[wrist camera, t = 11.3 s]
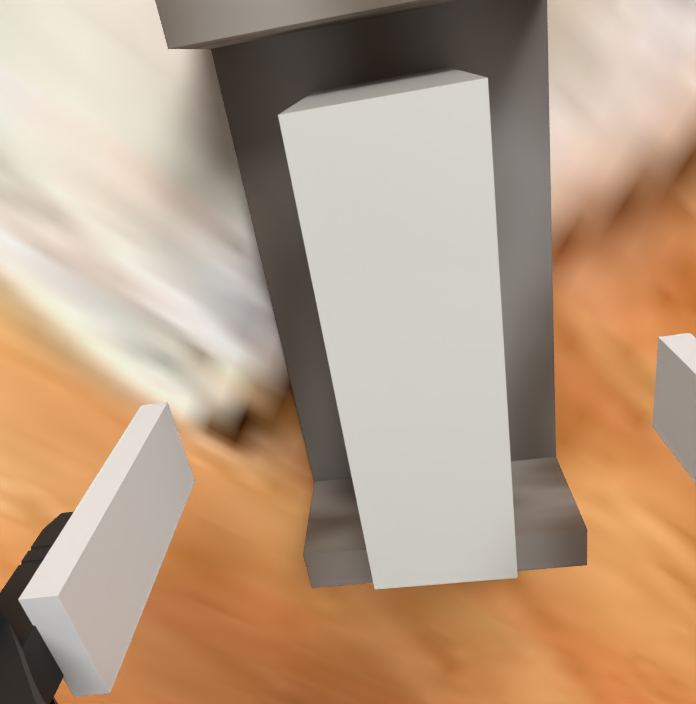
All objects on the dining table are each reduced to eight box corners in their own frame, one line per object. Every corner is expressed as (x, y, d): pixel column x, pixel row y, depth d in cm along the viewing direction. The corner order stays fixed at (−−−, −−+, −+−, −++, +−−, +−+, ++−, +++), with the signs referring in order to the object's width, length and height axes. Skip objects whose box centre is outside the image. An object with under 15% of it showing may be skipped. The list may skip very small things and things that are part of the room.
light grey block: (376, 442, 30) (374, 589, 22) (314, 91, 23) (277, 115, 15) (479, 431, 29) (517, 577, 21) (448, 67, 22) (488, 77, 14)
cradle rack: (323, 496, 33) (312, 587, 27) (204, -11, 22) (146, -31, 17) (550, 474, 31) (586, 565, 26) (536, -80, 21) (592, -125, 15)
